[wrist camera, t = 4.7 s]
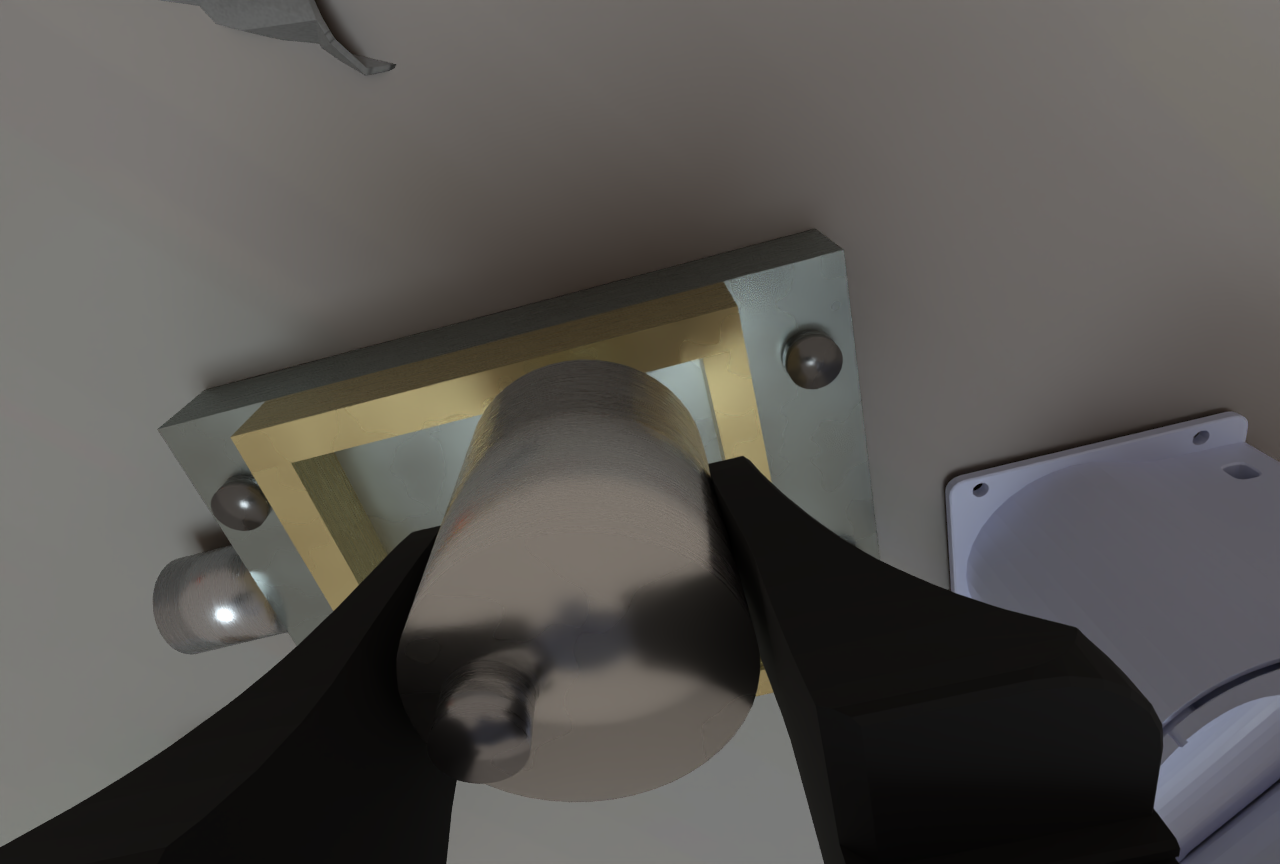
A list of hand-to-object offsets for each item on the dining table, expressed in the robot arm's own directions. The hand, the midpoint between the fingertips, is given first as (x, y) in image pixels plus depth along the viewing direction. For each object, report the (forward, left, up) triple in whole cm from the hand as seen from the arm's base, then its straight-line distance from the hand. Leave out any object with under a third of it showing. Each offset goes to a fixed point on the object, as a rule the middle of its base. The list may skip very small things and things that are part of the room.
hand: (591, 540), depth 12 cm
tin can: (0, 0, -2) cm, 2 cm away
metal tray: (+4, +4, -9) cm, 11 cm away
